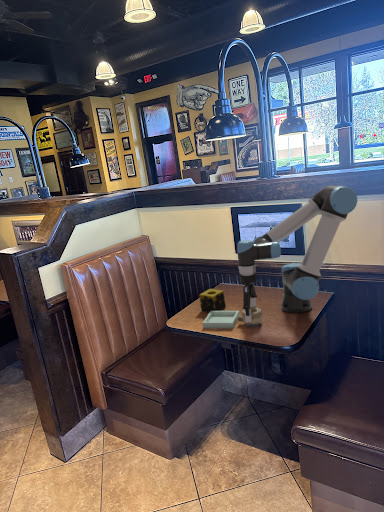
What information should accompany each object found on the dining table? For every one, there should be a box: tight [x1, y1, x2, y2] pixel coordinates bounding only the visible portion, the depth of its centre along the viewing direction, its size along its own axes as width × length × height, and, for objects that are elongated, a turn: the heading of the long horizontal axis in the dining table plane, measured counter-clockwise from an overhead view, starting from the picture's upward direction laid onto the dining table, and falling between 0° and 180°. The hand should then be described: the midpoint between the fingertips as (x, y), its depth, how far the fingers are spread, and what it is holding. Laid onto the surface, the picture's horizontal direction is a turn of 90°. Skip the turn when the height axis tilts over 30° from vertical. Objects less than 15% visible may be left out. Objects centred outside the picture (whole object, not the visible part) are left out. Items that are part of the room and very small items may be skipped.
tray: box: [202, 310, 240, 330], centre depth 188 cm, size 15×15×3 cm
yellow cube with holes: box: [198, 288, 227, 314], centre depth 206 cm, size 10×10×10 cm
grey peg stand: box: [244, 311, 261, 328], centre depth 180 cm, size 6×6×6 cm
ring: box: [237, 306, 263, 324], centre depth 180 cm, size 11×9×5 cm
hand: (251, 316), depth 180 cm, fingers open, 13 cm apart
